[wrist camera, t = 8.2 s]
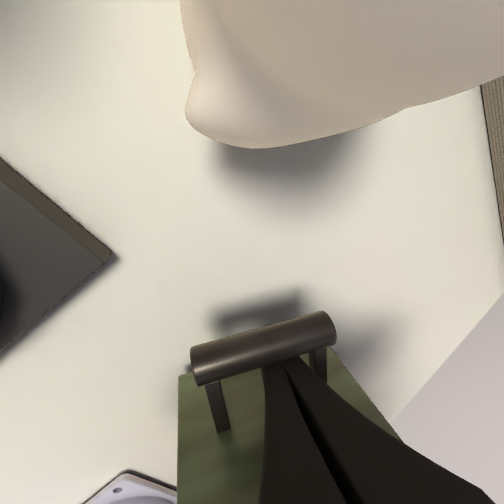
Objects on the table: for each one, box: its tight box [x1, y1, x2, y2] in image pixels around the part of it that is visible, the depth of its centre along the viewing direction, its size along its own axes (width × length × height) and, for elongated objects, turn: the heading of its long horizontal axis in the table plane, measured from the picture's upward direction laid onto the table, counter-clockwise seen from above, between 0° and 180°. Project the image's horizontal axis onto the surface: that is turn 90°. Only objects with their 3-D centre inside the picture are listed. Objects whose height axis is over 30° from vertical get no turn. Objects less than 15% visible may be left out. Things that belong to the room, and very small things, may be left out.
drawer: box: [177, 311, 404, 504], centre depth 12 cm, size 14×8×7 cm, turn 7°
